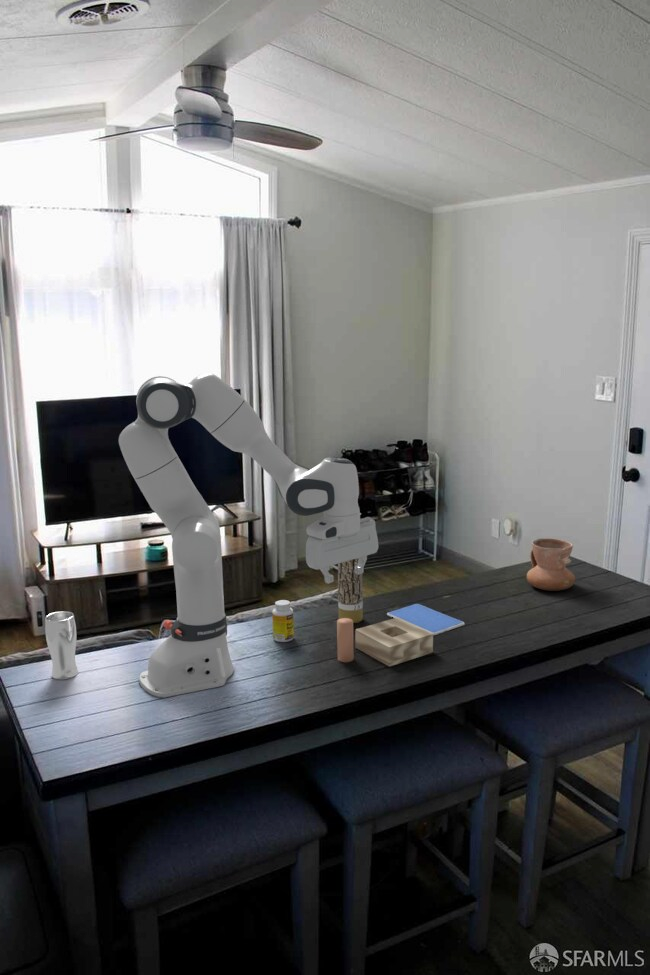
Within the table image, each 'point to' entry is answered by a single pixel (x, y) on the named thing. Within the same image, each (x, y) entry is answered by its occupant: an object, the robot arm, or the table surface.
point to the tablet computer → (426, 618)
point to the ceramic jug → (550, 565)
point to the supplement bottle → (283, 621)
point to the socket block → (394, 641)
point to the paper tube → (350, 591)
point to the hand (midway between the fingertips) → (344, 577)
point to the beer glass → (61, 644)
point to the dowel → (345, 640)
